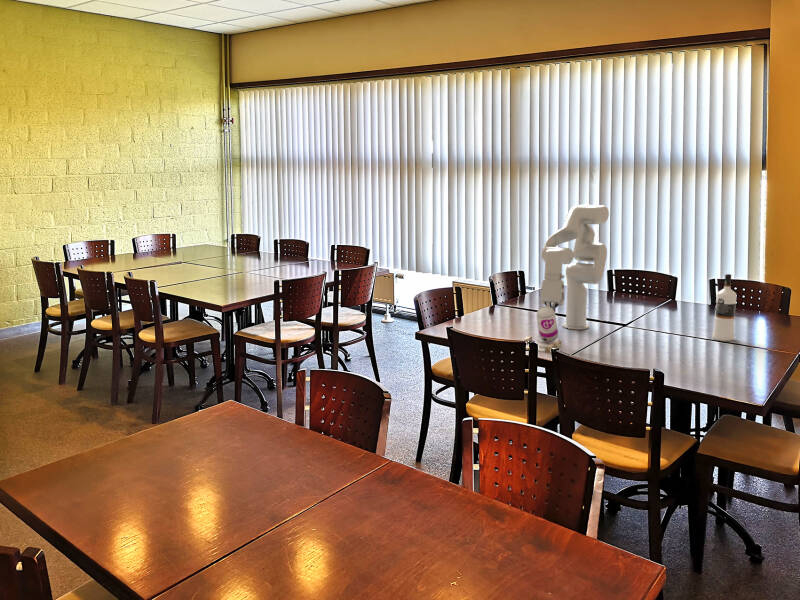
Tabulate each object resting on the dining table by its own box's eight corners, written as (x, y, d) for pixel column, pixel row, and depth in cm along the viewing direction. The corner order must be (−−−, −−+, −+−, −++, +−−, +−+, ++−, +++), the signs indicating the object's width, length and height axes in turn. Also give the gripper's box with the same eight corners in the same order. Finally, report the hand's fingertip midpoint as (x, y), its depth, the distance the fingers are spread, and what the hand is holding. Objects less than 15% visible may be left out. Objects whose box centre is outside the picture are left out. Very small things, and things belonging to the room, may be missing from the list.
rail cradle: (528, 341, 333) (528, 335, 332) (561, 345, 324) (561, 340, 324) (515, 347, 321) (515, 342, 321) (548, 352, 313) (548, 347, 312)
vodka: (738, 340, 331) (744, 275, 325) (723, 342, 327) (728, 276, 321) (722, 335, 339) (727, 272, 333) (707, 338, 336) (712, 273, 330)
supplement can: (559, 341, 328) (554, 315, 320) (540, 343, 330) (535, 317, 322) (558, 330, 334) (554, 304, 326) (540, 332, 336) (535, 306, 328)
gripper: (572, 277, 327) (570, 317, 330) (540, 274, 335) (539, 313, 339) (565, 279, 321) (563, 320, 324) (534, 276, 329) (532, 316, 333)
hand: (551, 316), depth 331 cm, fingers closed
